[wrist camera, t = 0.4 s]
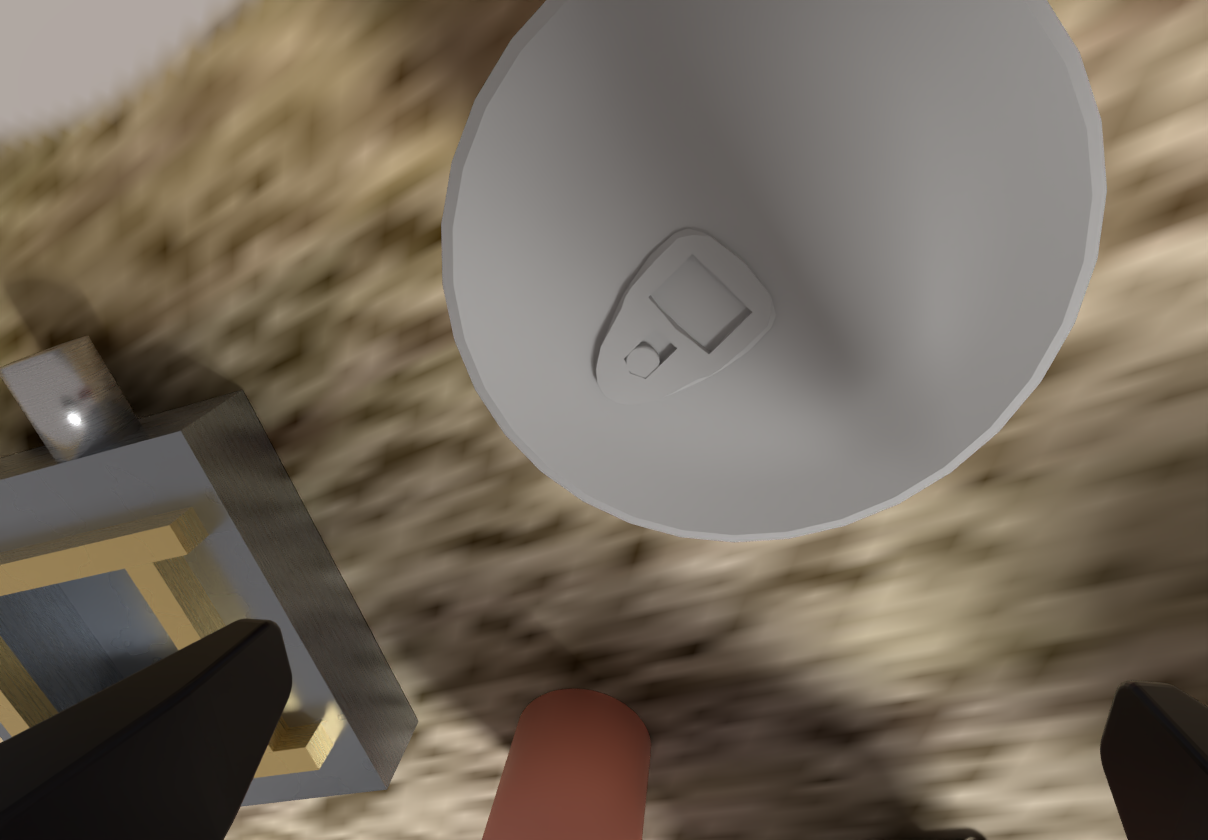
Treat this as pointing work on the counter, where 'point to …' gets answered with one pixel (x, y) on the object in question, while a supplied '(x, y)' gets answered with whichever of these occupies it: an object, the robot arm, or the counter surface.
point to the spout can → (573, 771)
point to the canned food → (770, 248)
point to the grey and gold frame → (178, 571)
